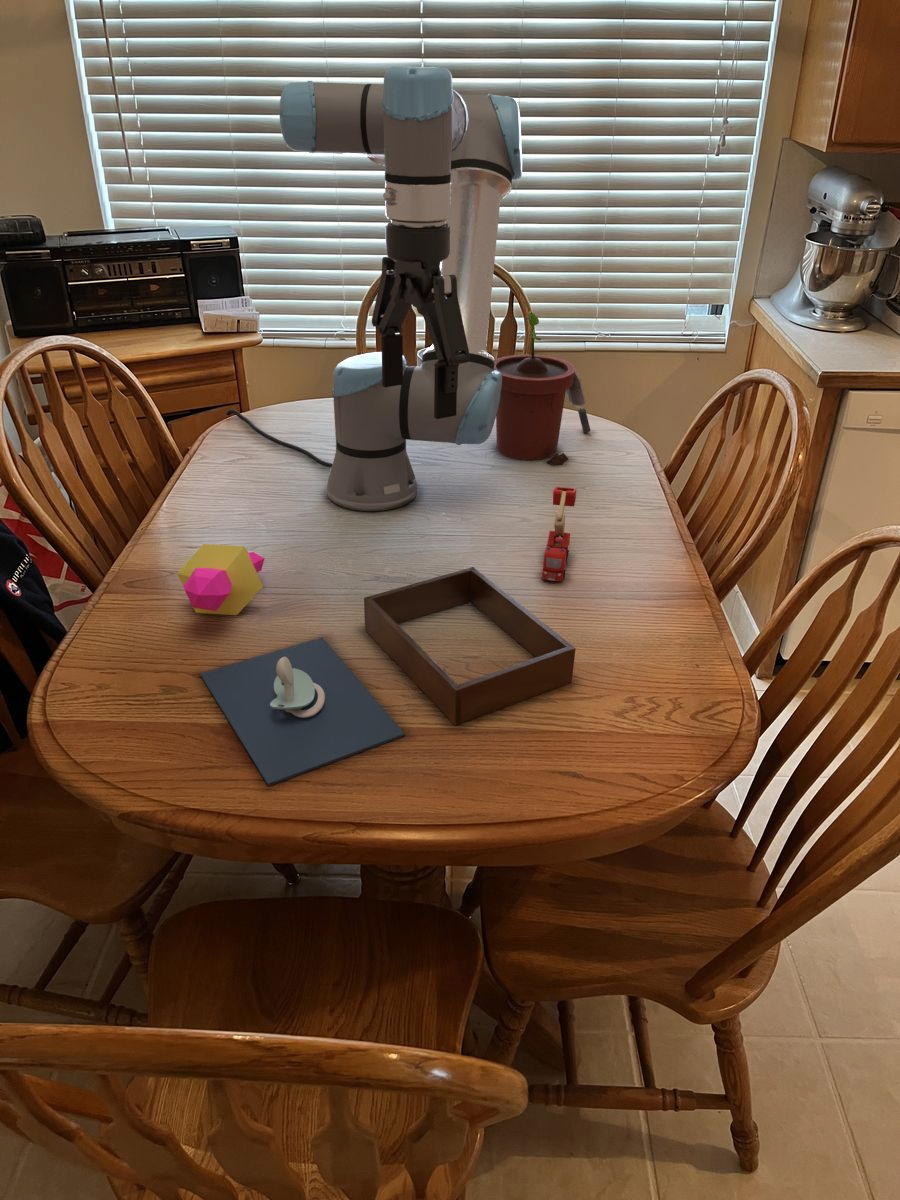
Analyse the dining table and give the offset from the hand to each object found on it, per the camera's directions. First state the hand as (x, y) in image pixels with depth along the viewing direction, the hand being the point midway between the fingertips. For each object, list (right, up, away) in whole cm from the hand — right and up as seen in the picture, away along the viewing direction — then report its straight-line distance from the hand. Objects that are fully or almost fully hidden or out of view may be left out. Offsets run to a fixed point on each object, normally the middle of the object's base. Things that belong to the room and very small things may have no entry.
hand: (417, 400), depth 115 cm
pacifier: (-13, -38, -11) cm, 41 cm away
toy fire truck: (+20, -20, +20) cm, 34 cm away
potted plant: (+22, +4, +59) cm, 63 cm away
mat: (-13, -38, -11) cm, 41 cm away
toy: (-26, -26, +7) cm, 38 cm away
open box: (+6, -32, -2) cm, 33 cm away
